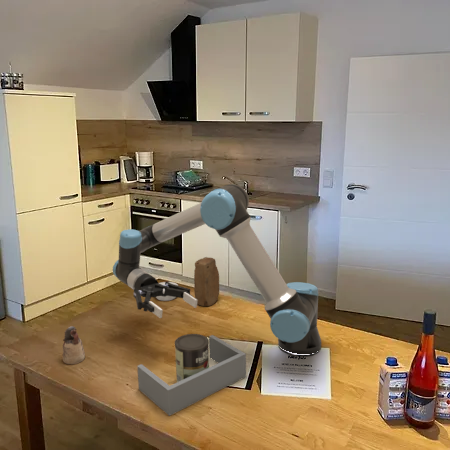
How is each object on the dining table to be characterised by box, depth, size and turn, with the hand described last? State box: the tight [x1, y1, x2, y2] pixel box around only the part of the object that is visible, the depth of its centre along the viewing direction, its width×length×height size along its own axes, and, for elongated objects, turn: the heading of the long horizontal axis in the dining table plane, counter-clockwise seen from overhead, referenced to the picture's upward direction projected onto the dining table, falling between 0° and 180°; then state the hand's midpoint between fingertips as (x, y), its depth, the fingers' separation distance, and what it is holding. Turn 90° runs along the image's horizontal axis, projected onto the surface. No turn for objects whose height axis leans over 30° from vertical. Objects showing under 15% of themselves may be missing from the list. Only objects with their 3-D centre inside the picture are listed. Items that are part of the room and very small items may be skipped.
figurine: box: [62, 325, 86, 365], centre depth 156 cm, size 7×7×12 cm
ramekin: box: [155, 281, 179, 302], centre depth 208 cm, size 11×11×5 cm
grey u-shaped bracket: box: [136, 334, 247, 417], centre depth 142 cm, size 16×29×8 cm, turn 131°
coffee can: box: [174, 333, 210, 383], centre depth 141 cm, size 10×10×14 cm
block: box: [193, 256, 220, 307], centre depth 199 cm, size 11×8×20 cm
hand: (179, 308), depth 145 cm, fingers open, 13 cm apart
